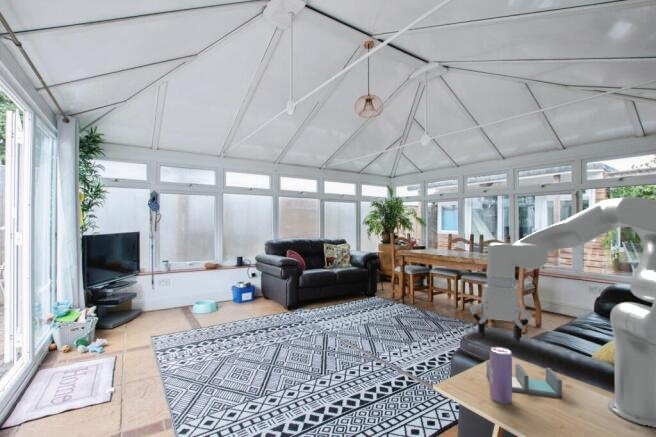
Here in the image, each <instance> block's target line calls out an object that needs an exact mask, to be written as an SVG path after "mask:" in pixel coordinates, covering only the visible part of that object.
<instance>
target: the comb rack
mask: <svg viewBox="0 0 656 437" xmlns="http://www.w3.org/2000/svg"><path fill="white" fill-rule="evenodd" d="M486 378H487V379H488V382H489V383H490V360H488V359H487V360H486ZM512 392H516V393H522V394H523V393H524V394H530V395H536V396H543V397H551V398H557V399H563V380H562V379H561V378H560V377H559V376H558V374H556V372H554V371H553V370H552V368H550V367H545V380H544V379H543V380H540V379H534V378H529V374H527V372H526V371H525V369H524V368H523V367H522V366H521V365H520V363H515V376H513V375H512Z"/></svg>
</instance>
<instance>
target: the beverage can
mask: <svg viewBox="0 0 656 437" xmlns="http://www.w3.org/2000/svg"><path fill="white" fill-rule="evenodd" d="M489 361H490V382H489V396H490V398H491V399H492V400H493V401H495V403H499V404H503V405H505V404H506V405H508V404H510V403H511V402H512V401H513V391H512V376H513V355H512V351H511V350H509V349H508V348H506V347H501V346H491V347H490V351H489Z"/></svg>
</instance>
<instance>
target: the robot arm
mask: <svg viewBox="0 0 656 437" xmlns="http://www.w3.org/2000/svg"><path fill="white" fill-rule="evenodd" d="M618 228H632V229H633V230H634V232H635V233H636V234H637V235H638V237H639V238H640V240H641V242H642V246H643V248H642V249H643V250H642V255H641V256H640V259H639V262H638V264H637V266H636V269H635V272H634V273H633V275H632V278H631V280H630V283H629V284H630V285H629V289H630V292H631V293H632V294H633V296H635V297H637V298H638V299H640V300H642V301H645V302H649V303H652V305H651V306H650V305H649V306H648V305H645V304H641V303H638V302H637V303H636V302H632V301H627V302H626V301H624V302H620V303H618V304H616V305H614V307H612V309H611V311H610V314H609V316H610V317H609V319H610V325H611V326H610V327H611V330H612V335H613V342H614V343H613V344H614V398H611V399H609V400H608V401H607V406H608V408H609V409H610V410H611V411H612V413H614V414H616V415H617V416H618V417H621V418H623V419H625V420H628V421H630V422H632V423H635V424H638V425H641V424H642V426H645V425H648V426H647V427H649V426H654V427H653V428H655V426H656V199H651V198H645V197H639V196H623V197H615V198H614V197H613V198H608V199H604V200H601V201H599V202H597V203H595V204H593V205H591V206H590V207H587V208H586V209H584V210H582V211H580V212H578V213H576V214H574V215H572V216H570V217H568V218H566V219H564V220H562V221H560V222H556V223H554V224H552V225H550V226H548V227H546V228H542V229H541V230H538V231H536V232H533V233H531V234H529V235H526V236H525V237H523V238H521V239H520V240H517V241H516V242H513V243H509V242H508V243H507V242H491V243H489V244H488V247H487V265H486V266H487V268H486V269H487V270H486V271H487V275H486V284H484V285H483V289H482V293H481V302H480V303H478V304H475V305H472V306H470V307H469V312H470V313H471V315H472V317H473V318H474V319H475V321H477V323H478V328H477V329H478V330H477V331H478V333H479V334H480V336H481V338H484V337H485V335H486V334H485V333H486V331H485V330H486V324H485V322H486V321H487V320H488V319H489V320H496V321H506V322H507V321H508V322H514V324H515V325H513V339H515V341H516V342H520V339H522V330H523V329H524V327H525V326H526V325H527V324H528V323H529V321H530V320H531V318H532V317H533V314H532V313H531V312H529V311H527V310H525V309H524V308H522V307H520V301H519V294H518V289H517V287H516V285H520V284H521V280H519V279H516V277H515V276H516V273H515V272H516V267H519V268H525V269H529V270H530V269H531V270H536V269H540V268H543V267H544V266H546V265H547V263H548V261H549V254H548V253H550V252H554V251H558V250H562V249H570V248H571V249H572V248H576V247H579V246H583V245H585V244H587V243H589V242H591V241H594V240H596V239H598V238H600V237H601V236H603V235H605V234H608V233H610V232H611V231H614V230H615V229H618ZM479 310H480V313H481V314H479V315H478V314H477V311H479ZM520 313H521V314H522V315H524V317H523V318H521V319H520V316H521V315H520Z"/></svg>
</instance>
